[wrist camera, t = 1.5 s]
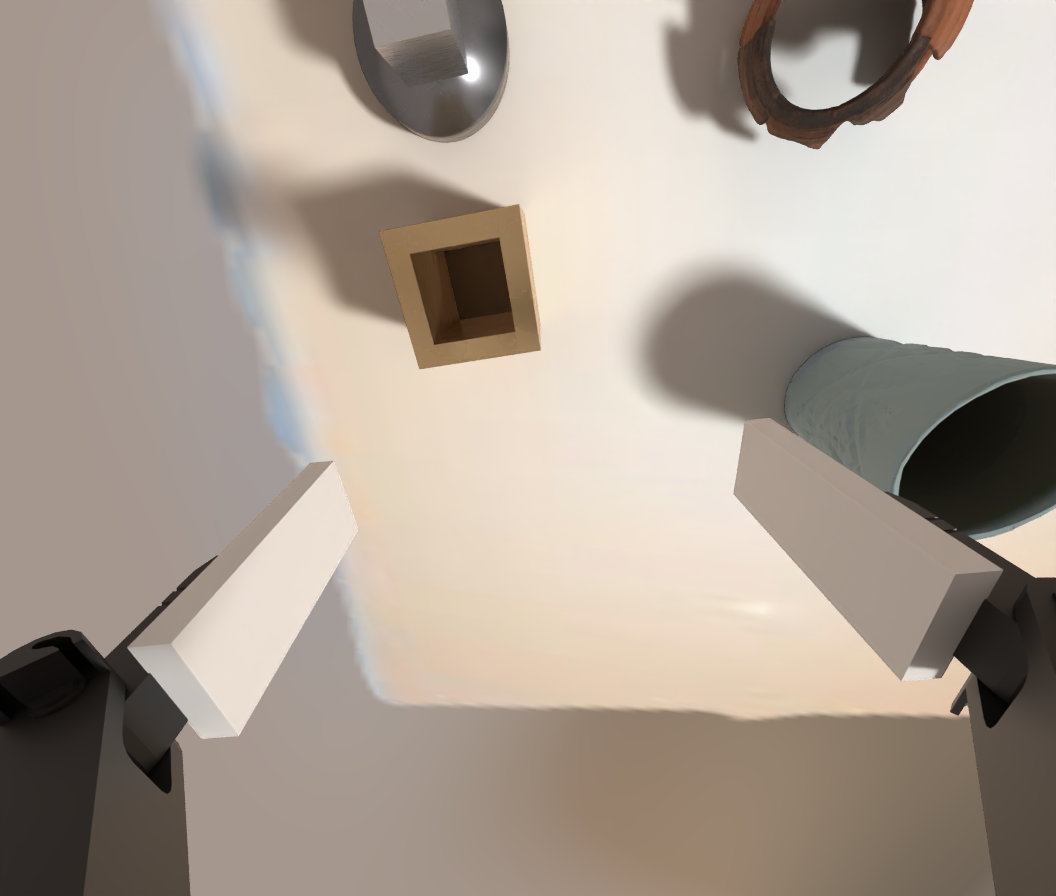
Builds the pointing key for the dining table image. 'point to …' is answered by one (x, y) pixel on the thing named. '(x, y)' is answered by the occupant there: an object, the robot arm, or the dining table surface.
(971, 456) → the grey green cup
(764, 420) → the robot arm
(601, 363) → the dining table surface
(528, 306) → the hollow square tube
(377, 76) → the grey handled bowl
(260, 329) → the dining table surface
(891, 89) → the ring-shaped clay flask
